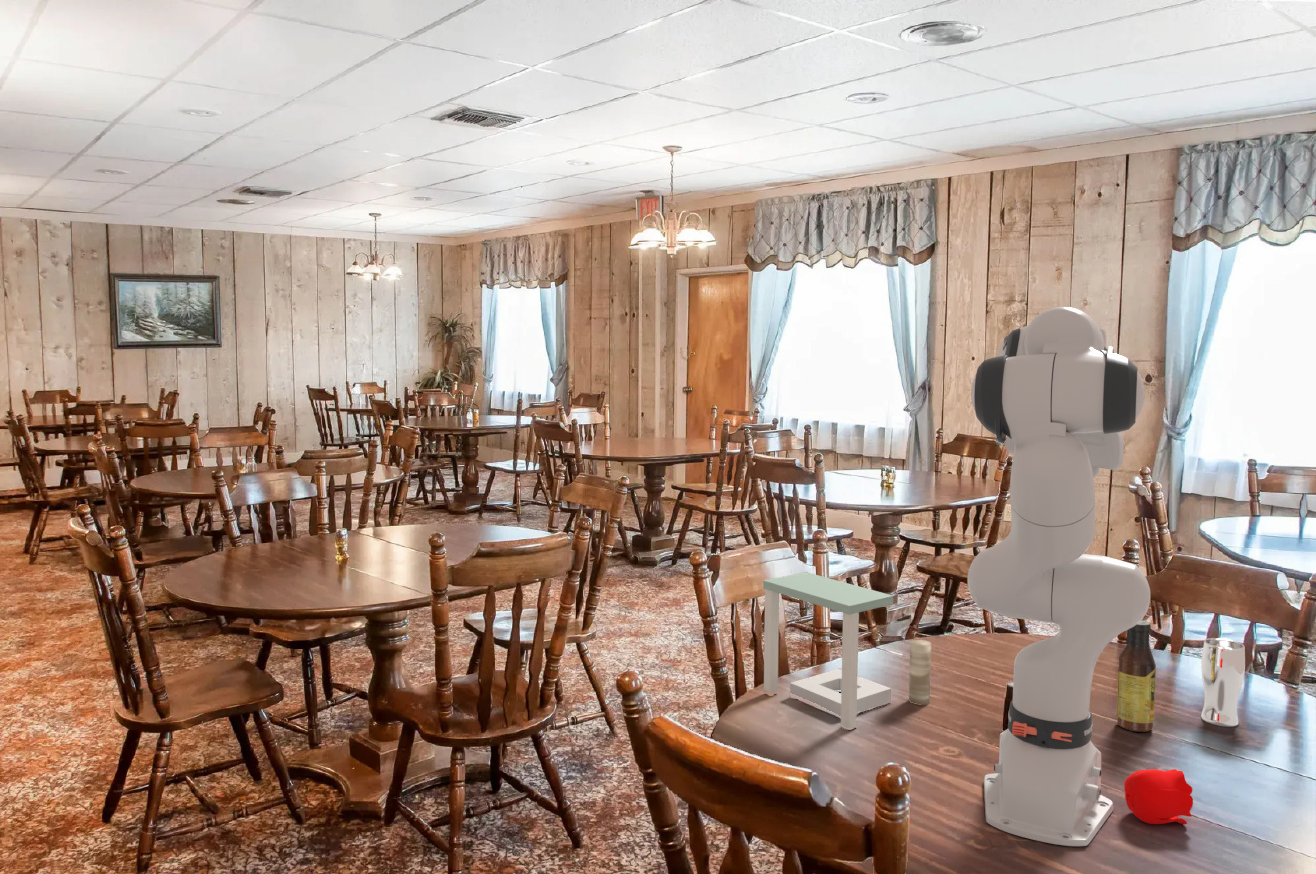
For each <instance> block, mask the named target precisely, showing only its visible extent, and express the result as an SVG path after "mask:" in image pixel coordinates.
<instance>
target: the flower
mask: <svg viewBox="0 0 1316 874" xmlns="http://www.w3.org/2000/svg"><path fill="white" fill-rule="evenodd" d="M1123 784H1124V785H1123V786H1124V787H1123V788H1124V797H1125V802H1126V803H1125V804H1126V806H1127V808H1128V809H1129V811H1130V812H1132V814H1133V815H1134V816H1135V817H1136V818H1138V820H1140V821H1141V822H1143V823H1146V824H1148V825H1162V824H1169V823H1173V822H1174V823H1175V822H1176V823H1178V824H1180V825H1183V826H1184V825H1185V826H1186V825H1188V822H1187V820H1186V819H1184V818H1181V817H1179V816H1182V817H1183V816H1184V817H1193V815H1192V814H1191V809H1193V806H1194V798H1193V796H1192V793H1193V787H1192V785H1190V784H1189V783H1188V782H1187V781H1186V779H1185V773H1184V772H1183V770H1178V769H1175V768H1174V769H1173V768H1172V769H1167V770H1161V769H1153V768H1150V769H1140V770H1137V771H1135V772H1132V773H1131V774H1129V775H1128V776H1127V777H1126V778H1125V780H1124V783H1123Z"/></svg>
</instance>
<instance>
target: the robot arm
mask: <svg viewBox="0 0 1316 874" xmlns="http://www.w3.org/2000/svg"><path fill="white" fill-rule="evenodd" d="M1138 368H1139V367H1138V366H1137V365H1135V363H1133V361H1131V360H1130V359H1129V358H1128V357H1126V356H1123V355H1120V354H1118V353H1116V352H1114V346H1110V345H1108V346H1107V332H1106V330H1105V329H1104V328H1103V327H1101V326H1099V325H1098V323H1097V322H1096V321H1095V319H1093V317H1091V316H1090V315H1089V314H1087V313H1086V312H1084V311H1083V310H1080V309H1078V308H1074V307H1069V306H1057V307H1051V308H1048V309H1046V310H1043V311H1042V312H1041V313H1039V314H1037V316H1035V317H1034V318H1033V319H1032V320H1031V321H1030V323H1029V324H1028V325H1025V326H1023V327H1019V328H1015V329H1012V330H1011V331H1010V333H1008V334H1007V335H1006V336H1004V339H1003V341H1002V342H1001V344H1000V345H999V349H998V350H997V356H995V357H990V358H987V359H985V360H983V361H982V362H981V364H980V365H979V366H978V367H977V369H976V373H975V375H974V378H973V379H972V383H971V390H970V397H971V404H972V407H973V409H974V412H975V416H976V418H977V420H978V421H979V422H980V424H981V425H982V426H983V427H984V429H986V430H987V431H989V432H990V433H991V434H993V435H995V437H996V440H997V442H998V443H1001V444H1003V445H1004V449H1005V450H1006V452H1007V453H1010V454H1013V457H1012V464H1011V469H1010V479H1009V480H1010V482H1009V495H1010V496H1009V499H1010V513H1011V514H1010V515H1011V516H1010V517H1011V518H1010V520H1011V521H1010V530H1009V533H1008V535H1007V536H1006V537H1005V538H1004V539H1003V540H1001V541H1000V542H999V543H997V544H995V545H993V546H991V547H988V548H984V549H982V550H981V551H980V552H979V553H977V554H976V555H975V557H974V558H973V560H972V561H971V564H970V566H969V568H968V571H967V588H968V591H969V594H970V596H971V598H972V600H973V601H974V603H975V604H976V605H977V607H978V608H980V609H982V610H986V611H987V612H991V613H994V614H998V615H1001V616H1003V617H1008V618H1012V619H1021V620H1028V621H1036V622H1043V623H1051V624H1054V625H1057V626H1058V627H1059V631H1058V632H1057V633H1056V634H1055V635H1053V636H1051V637H1049V638H1046V639H1043V640H1038V641H1035V642H1034V643H1033V642H1032V643H1031V644H1028V645H1026V646H1025V647H1023V648H1022V649H1021V650H1020V651H1019V652H1018V653H1017V655H1016V656H1015V658H1014V662H1013V683H1012V684H1013V686H1012V700H1010V703H1009V708H1008V709H1009V710H1008V713H1007V714H1008V715H1007V716H1008V717H1007V718H1008V724H1007V729H1005V730H1004V731H1002V732H1001V733H1000V734H999V748H998V749H999V750H998V751H999V753H998V763H995V764H994V765H993V771H994V773H987V774H985V775H984V777H983V778H984V779H983V794H984V809H985V810H984V811H985V812H984V813H985V814H984V815H985V821H986V823H987V824H989V825H991V827H994V828H996V829H998V830H1000V831H1002V832H1006V833H1008V834H1012V835H1015V836H1017V837H1021V838H1026V839H1030V840H1034V841H1037V842H1042V843H1048V844H1053V845H1060V846H1067V847H1086V846H1088V845H1089V844H1090V843H1091V842H1092V840H1093V839H1094V837H1095V836H1096V834H1098V832H1099V831H1100V829H1101V827H1102V826H1103V825H1104V823H1105V822H1106V820H1108V818H1109V816H1110V815H1111V814H1112V813H1113V811H1114V802H1113V801H1112V800H1111V799H1110V798H1107V796H1105V795H1103V794H1102V791H1101V789H1102V788H1101V787H1102V786H1101V785H1102V784H1101V783H1102V753H1101V751H1100V750H1099V749H1098V748H1097V747H1096V746H1095V745H1094V743H1093V742H1092V741H1091V739H1092V736H1093V735H1092V734H1093V733H1092V732H1093V728H1094V726H1093V724H1094V723H1093V714H1092V712H1091V711H1090V705H1091V704H1090V703H1091V695H1092V694H1091V692H1092V685H1093V684H1092V683H1093V678H1094V671H1095V668H1096V664H1097V662H1098V660H1099V658H1100V655H1101V654H1102V652H1103V651H1104V649H1106V647H1107V646H1108V645H1109V644H1110V643H1111V642H1112V641H1113V640H1114V639H1115V638H1116V637H1118V636H1119V635H1121V634H1123V633H1124V632H1127V630H1128V629H1130V628H1132V627H1134V626H1135V625H1137V624H1138V623H1139V622H1140V621H1141V620H1143V619H1144V617H1145V615H1146V614H1147V612H1148V610H1149V608H1150V605H1151V588H1150V585H1149V582H1148V579H1147V577H1146V575H1145V574H1144V573H1143V571H1142V570H1141V569H1140V568H1139V566H1138V565H1136V564H1135V563H1131V562H1129V561H1125V560H1121V559H1117V558H1113V557H1109V556H1106V555H1098V554H1096V555H1095V554H1087V553H1085V552H1087V551H1088V549H1089V548H1090V547H1091V546H1092V544H1093V542H1094V538H1095V535H1096V493H1095V492H1096V490H1095V489H1096V488H1095V481H1094V479H1095V478H1096V477H1097V476H1098V475H1099V472H1100V469H1105V470H1111V471H1117V470H1119V469H1120V468H1121V467H1122V466H1123V460H1124V452H1125V447H1124V446H1125V441H1124V435H1123V433H1122V432H1126V431H1128V430H1130V429H1131V428H1132V427H1133V426H1135V424H1136V420H1137V419H1138V417H1139V416H1140V413H1141V412H1142V409H1143V407H1144V403H1145V394H1146V393H1145V391H1146V390H1145V385H1144V381H1143V379H1142V376H1141V375H1140V372H1139V371H1138Z"/></svg>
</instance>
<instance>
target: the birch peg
mask: <svg viewBox="0 0 1316 874" xmlns="http://www.w3.org/2000/svg"><path fill="white" fill-rule="evenodd" d="M909 645H910V646H909V676H908V677H909V678H908V679H909V681H908V684H909V685H908V701H909V700H910V701H911V702H913V703H917V704H921V705H920V706H927V704H928V705H929V704H930V700H931V699H930V697H931V668H932V667H931V666H932V643H931V641H928V640H924V639H912V640H910V643H909Z"/></svg>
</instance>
